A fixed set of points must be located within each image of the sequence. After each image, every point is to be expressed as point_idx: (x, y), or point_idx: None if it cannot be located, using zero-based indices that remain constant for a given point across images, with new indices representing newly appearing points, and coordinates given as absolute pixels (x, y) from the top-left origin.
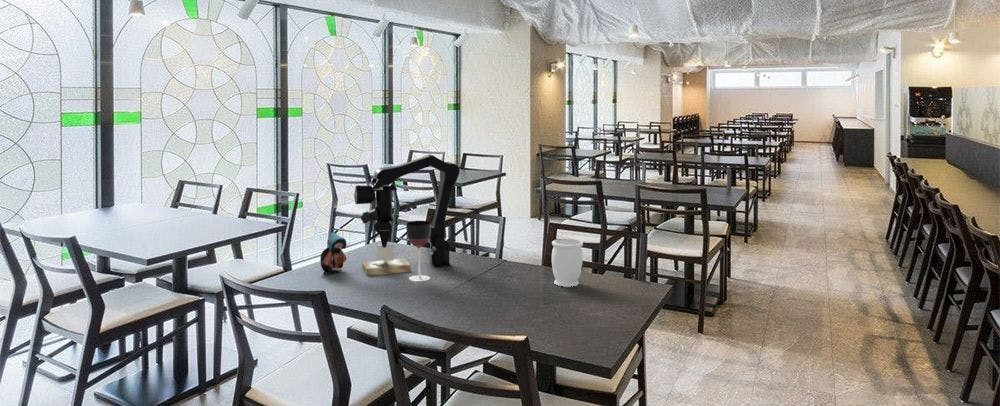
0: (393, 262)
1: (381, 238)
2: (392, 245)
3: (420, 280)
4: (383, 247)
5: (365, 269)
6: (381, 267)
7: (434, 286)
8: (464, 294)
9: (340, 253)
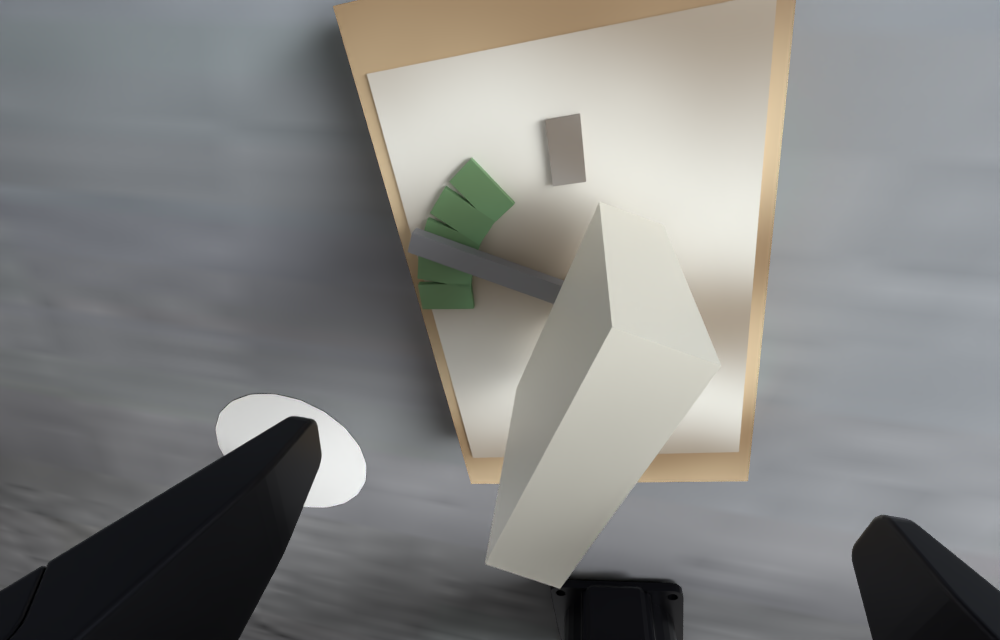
0: None
1: (10, 612)
2: (503, 562)
3: (227, 450)
4: (294, 425)
5: None
6: (407, 222)
7: (124, 487)
8: (31, 557)
9: None
